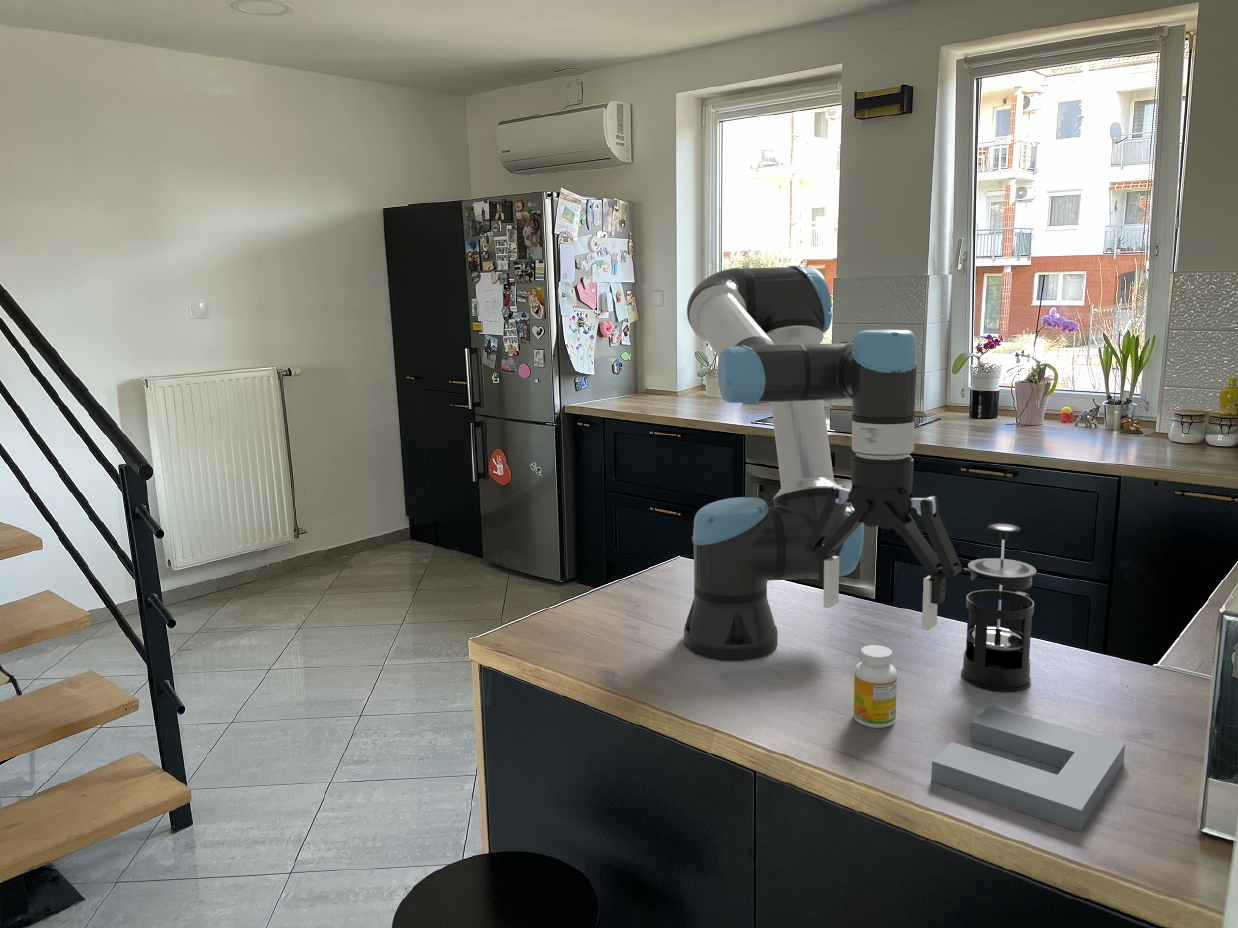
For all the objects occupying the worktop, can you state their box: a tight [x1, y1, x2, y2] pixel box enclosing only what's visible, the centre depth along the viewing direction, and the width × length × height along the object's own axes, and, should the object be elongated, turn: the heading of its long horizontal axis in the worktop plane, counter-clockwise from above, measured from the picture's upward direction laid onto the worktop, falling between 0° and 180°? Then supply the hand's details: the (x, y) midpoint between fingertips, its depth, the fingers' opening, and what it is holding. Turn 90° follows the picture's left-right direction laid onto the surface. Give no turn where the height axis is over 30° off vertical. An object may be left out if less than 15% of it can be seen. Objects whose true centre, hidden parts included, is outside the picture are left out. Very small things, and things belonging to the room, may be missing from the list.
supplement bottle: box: [853, 644, 898, 729], centre depth 120 cm, size 5×5×10 cm
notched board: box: [930, 705, 1126, 832], centre depth 107 cm, size 16×18×2 cm
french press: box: [960, 523, 1037, 693], centre depth 130 cm, size 12×9×23 cm
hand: (878, 615), depth 118 cm, fingers open, 13 cm apart
